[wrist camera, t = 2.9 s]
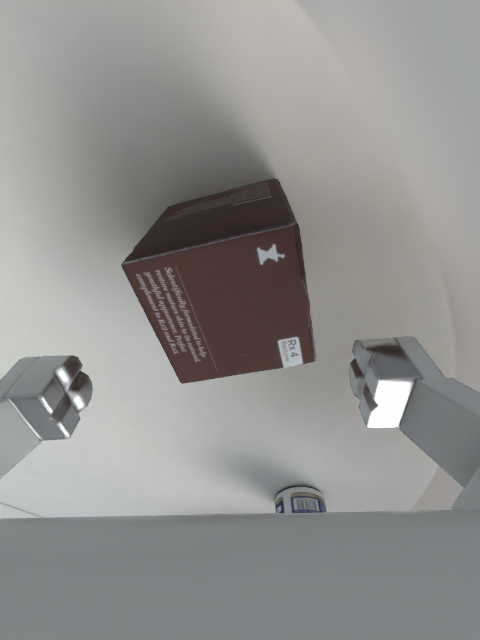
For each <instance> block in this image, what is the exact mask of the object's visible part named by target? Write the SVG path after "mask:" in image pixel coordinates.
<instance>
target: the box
mask: <svg viewBox="0 0 480 640" xmlns="http://www.w3.org/2000/svg"><path fill="white" fill-rule="evenodd" d="M122 268H123V270H124V272H125V274H126V276H127V278H128V280H129V282H130V284H131V286H132V288H133V290H134V292H135V294H136V296H137V298H138V300H139V302H140V304H141V306H142V308H143V310H144V312H145V314H146V316H147V318H148V320H149V322H150V324H151V326H152V328H153V330H154V331H155V333H156V336H157V338H158V339H159V341H160V343H161V345H162V347H163V349H164V351H165V353H166V355H167V357H168V359H169V361H170V363H171V365H172V367H173V369H174V371H175V373H176V375H177V377H178V378H179V380H180V382H181V383H182V384H183V383H190V382H196V381H203V380H208V379H215V378H221V377H227V376H233V375H239V374H245V373H251V372H258V371H265V370H271V369H278V368H285V367H291V366H296V365H301V364H306V363H310V362H314V361H316V353H315V343H314V337H313V329H312V321H311V315H310V300H309V296H308V291H307V285H306V276H305V269H304V260H303V253H302V243H301V237H300V229H299V226H298V224H297V222H296V220H295V217H294V214H293V212H292V209H291V207H290V205H289V202H288V200H287V197H286V195H285V193H284V191H283V189H282V187H281V185H280V182H279V180H278V179H271V180H267V181H264V182H259V183H256V184H252V185H248V186H244V187H241V188H237V189H233V190H229V191H226V192H222V193H218V194H214V195H210V196H206V197H202V198H199V199H195V200H191V201H187V202H184V203H180V204H176V205H172V206H169V207H168V208H167V209H166V210H165V212H164V213H163V214H162V215H161V216H160V218H159V219H158V220H157V221H156V222H155V224H154V225H153V226H152V227H151V229H150V230H149V231H148V232H147V234H146V235H145V236H144V237H143V238H142V240H141V241H140V242H139V243H138V244H137V245H136V246H135V248H134V250H133V251H132V253H131V254H130V255H129V256H128V257H127V258H126V259H125V261H123V262H122Z"/></svg>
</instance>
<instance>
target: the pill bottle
mask: <svg viewBox="0 0 480 640" xmlns="http://www.w3.org/2000/svg"><path fill="white" fill-rule="evenodd" d="M275 506H276V513H322V512H326V506H325V502H324V498H323V496H322V494H321V493H320V492H319V491H317V490H315V489H312V488H308V487H293V488H289V489H286V490H284V491H282V492H280V493H279V494H278V495H277V497H276V500H275Z"/></svg>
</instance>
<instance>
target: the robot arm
mask: <svg viewBox="0 0 480 640" xmlns="http://www.w3.org/2000/svg"><path fill="white" fill-rule="evenodd" d="M352 352H353V354H354V356H355V359H354V360H353V361H352V362H351V363H350V369H349V378H350V384H351V388H352V391H353V394H354V395H355V396H356V397H357V398H359V399H360V404H359V410H360V412H361V415H362V417H363V420H364V422H365V425H366V427H367V428H399V429H400V430H401V431H402V432H403V433H404V434H405V435H406V436H407V437H408V438H410V439H411V440H412V441H413V442H414V443H415V444H416V445H417V446H418V447H420V448H421V449H422V450H423V451H424V452H425V453H426V454H427V455H428V456H429V457H431V458H432V459H433V460H434V461H435V462H436V463H437V464H438V465H439V466H440V467H442V468H443V469H444V470H445V471H446V472H447V473H448V474H449V475H451V476H452V477H453V478H454V479H455V480H456V481H457V482H458V483H459V484H460V485H461V486H463V487H464V489H463V490H462V492H461V493H460V495H459V496H458V498H457V499H456V501H455V502H454V504H453V506H452V510H431V511H430V510H429V511H377V512H322V513H267V514H212V515H159V516H107V517H56V518H4V519H0V640H480V393H479V392H477V391H475V390H473V389H472V388H470V387H468V386H466V385H464V384H462V383H460V382H458V381H457V380H455V379H453V378H445V376H444V375H443V374H442V372H441V371H440V370H439V368H438V367H437V366H436V365H435V363H434V362H433V361H432V359H431V358H430V357H429V355H428V354H427V353H426V351H425V350H424V349H423V347H422V346H421V345H420V343H419V342H418V341H417V340H416V338H414V337H412V336H406V337H393V338H383V339H366V340H355V342H354V345H353V350H352ZM82 366H83V365H82V363H81V361H80V360H79V358H78V357H76V356H42V357H25V358H23V359H20V360H19V361H18V362H17V363H16V364H15V365H14V366H13V367H12V368H11V369H10V370H9V371H8V373H7V374H6V375H5V376H4V377H3V378H2V379H1V380H0V479H1V478H2V477H3V476H4V475H5V474H6V473H7V472H9V471H10V470H11V469H12V468H13V467H14V466H15V465H16V464H17V463H18V462H20V461H21V460H22V459H23V458H24V457H25V456H26V455H27V454H28V453H30V452H31V451H32V450H33V449H34V448H35V447H36V446H37V445H38V444H39V443H41V441H42V440H57V439H70V437H71V435H72V433H73V431H74V430H75V428H76V426H77V424H78V422H79V420H80V416H79V412H80V411H82V410H83V409H84V408H86V407H87V406H88V404H89V402H90V400H91V396H92V390H93V388H92V383H91V380H90V378H89V376H88V375H86V374H85V373H83V372H82V371H81V369H82Z"/></svg>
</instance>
